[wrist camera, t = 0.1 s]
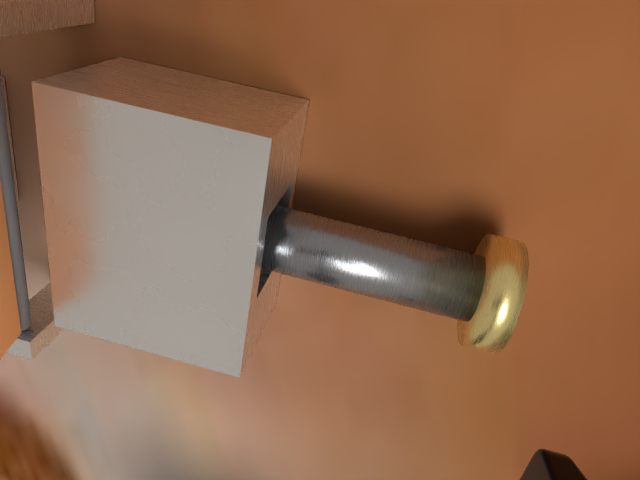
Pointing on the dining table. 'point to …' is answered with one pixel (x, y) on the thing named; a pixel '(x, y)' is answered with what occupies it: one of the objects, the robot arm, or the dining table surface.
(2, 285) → the panel
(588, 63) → the dining table surface
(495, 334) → the lynch pin
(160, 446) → the dining table surface
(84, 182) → the block
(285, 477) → the dining table surface
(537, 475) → the robot arm
